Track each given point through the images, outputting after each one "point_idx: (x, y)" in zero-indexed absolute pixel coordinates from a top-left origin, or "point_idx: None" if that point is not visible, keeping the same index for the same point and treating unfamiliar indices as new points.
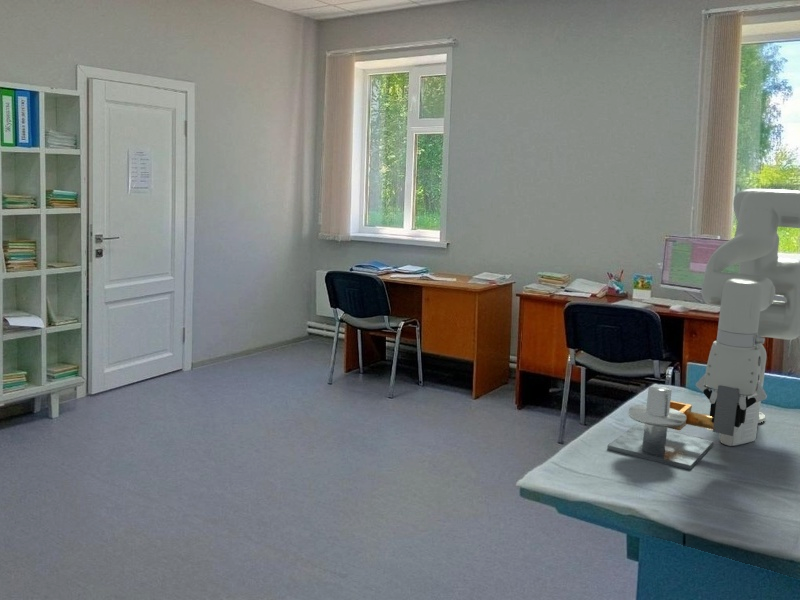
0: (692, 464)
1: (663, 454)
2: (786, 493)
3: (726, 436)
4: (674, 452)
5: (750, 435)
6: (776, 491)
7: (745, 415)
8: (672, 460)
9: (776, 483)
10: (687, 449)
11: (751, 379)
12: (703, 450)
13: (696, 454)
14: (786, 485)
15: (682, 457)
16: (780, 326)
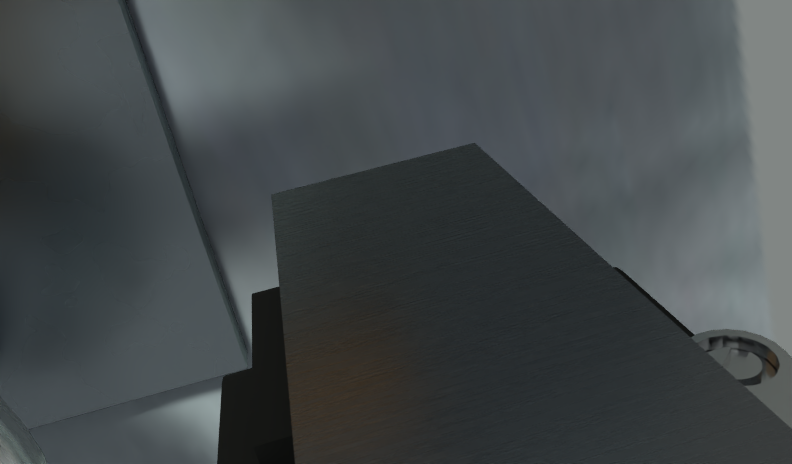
0: (233, 326)
1: (15, 352)
2: (727, 208)
3: None
4: (24, 253)
5: None
6: (684, 227)
7: (651, 299)
8: (127, 391)
9: (662, 111)
10: (26, 105)
11: None
12: (111, 6)
13: (141, 150)
14: (710, 91)
15: (126, 292)
16: None
